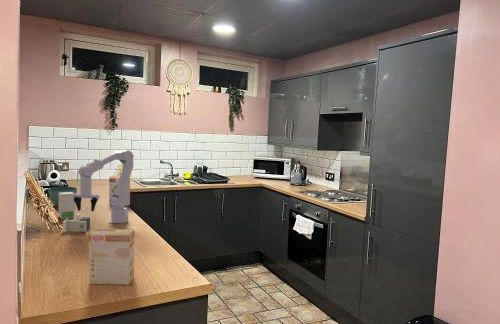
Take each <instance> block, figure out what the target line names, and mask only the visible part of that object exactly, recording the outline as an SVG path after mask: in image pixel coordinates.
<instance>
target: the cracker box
mask: <svg viewBox="0 0 500 324" xmlns="http://www.w3.org/2000/svg"><path fill="white" fill-rule="evenodd" d="M119 179H120V176H118V175H113V176H109V178H108V184H109V185H108V188H109V189H108V200H109V199H110V197H111V196H112V194H113V193H114V192H115V191H116V189H117V186H118V182H119ZM125 194H126V205H125V206H126V207H129V206H131V177H130V178H129V182H128V185H127V188H126V191H125ZM108 203H109V202H108ZM108 205H110V203H109V204H108ZM110 206H111V205H110Z"/></svg>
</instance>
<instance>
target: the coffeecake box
mask: <svg viewBox="0 0 500 324" xmlns="http://www.w3.org/2000/svg"><path fill="white" fill-rule="evenodd" d="M88 261H89V262H88V267H89V268H88V269H89V270H88V277H89V278H88V280H89V281H88V283H89V285H126V286H127V285H128V286H129V285H130V284H131V282H132V281H133V280H134V278H135V229H115V228H114V229H111V228H109V229H108V228H96V229H94V230H93V231H91V232H89V233H88Z"/></svg>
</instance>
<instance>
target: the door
mask: <svg viewBox="0 0 500 324" xmlns="http://www.w3.org/2000/svg"><path fill="white" fill-rule="evenodd" d="M68 230H69V231H73V232H81V233H82V232H84V233H85V232H87V230H86V221H76V219H75V220H73V219H68Z"/></svg>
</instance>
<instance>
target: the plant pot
mask: <svg viewBox="0 0 500 324" xmlns="http://www.w3.org/2000/svg"><path fill="white" fill-rule="evenodd" d="M77 191H78V188H77V187H73V186H57V187H56V186H55V187H51V188H48V189H47V193H48V196H49V199H50V200H51V202H52V203H53V205H54V206H56V207H59V194H58V193H63V192H73V193H75V194H77Z"/></svg>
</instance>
